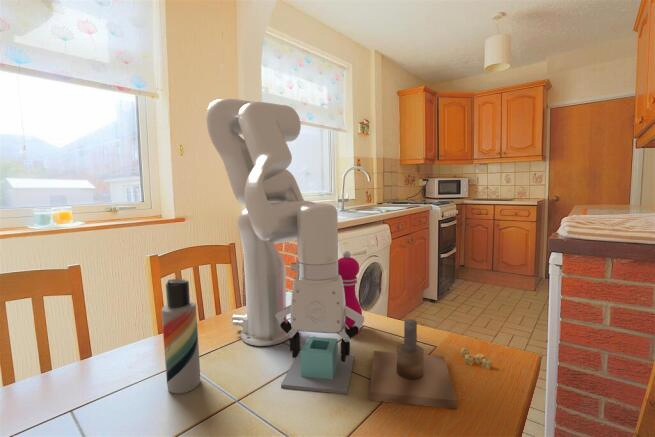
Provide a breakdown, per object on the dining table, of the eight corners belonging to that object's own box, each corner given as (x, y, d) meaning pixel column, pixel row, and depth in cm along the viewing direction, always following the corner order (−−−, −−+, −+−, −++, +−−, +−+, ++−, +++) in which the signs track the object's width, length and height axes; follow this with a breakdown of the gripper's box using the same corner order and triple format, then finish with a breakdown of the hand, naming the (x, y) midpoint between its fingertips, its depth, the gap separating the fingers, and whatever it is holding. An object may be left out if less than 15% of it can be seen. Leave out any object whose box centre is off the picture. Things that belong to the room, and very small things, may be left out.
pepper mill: (363, 337, 81) (363, 254, 78) (332, 337, 81) (331, 254, 79) (360, 324, 88) (360, 248, 86) (333, 324, 88) (331, 248, 86)
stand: (369, 400, 58) (369, 336, 56) (373, 357, 71) (373, 305, 70) (456, 408, 55) (458, 342, 54) (443, 363, 69) (444, 309, 68)
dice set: (491, 372, 67) (491, 362, 66) (463, 368, 68) (463, 359, 68) (486, 358, 71) (487, 350, 71) (460, 355, 73) (460, 347, 72)
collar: (301, 376, 64) (300, 351, 63) (308, 359, 70) (308, 336, 69) (332, 379, 63) (332, 353, 62) (337, 362, 69) (337, 338, 68)
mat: (281, 387, 62) (281, 384, 61) (298, 354, 73) (298, 351, 73) (347, 394, 59) (347, 390, 59) (354, 358, 71) (354, 355, 71)
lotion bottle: (164, 383, 63) (156, 279, 61) (195, 372, 67) (189, 273, 65) (171, 398, 59) (163, 286, 57) (204, 386, 62) (198, 280, 60)
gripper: (267, 273, 62) (270, 363, 64) (362, 277, 59) (363, 370, 61) (280, 263, 69) (283, 343, 71) (365, 266, 66) (366, 350, 68)
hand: (319, 356), depth 66 cm, fingers open, 9 cm apart
